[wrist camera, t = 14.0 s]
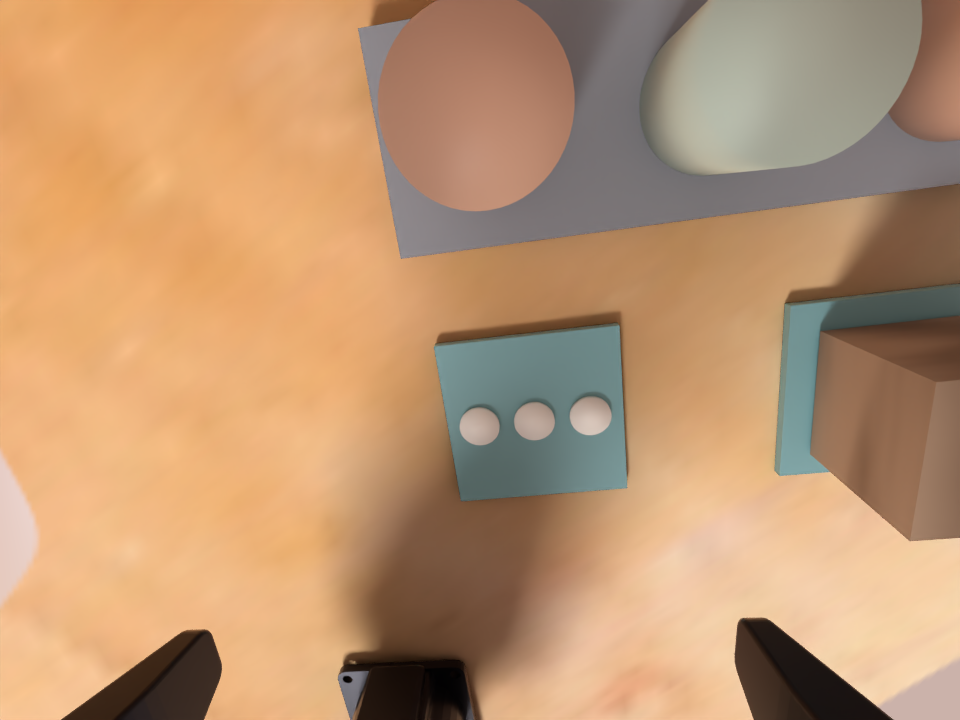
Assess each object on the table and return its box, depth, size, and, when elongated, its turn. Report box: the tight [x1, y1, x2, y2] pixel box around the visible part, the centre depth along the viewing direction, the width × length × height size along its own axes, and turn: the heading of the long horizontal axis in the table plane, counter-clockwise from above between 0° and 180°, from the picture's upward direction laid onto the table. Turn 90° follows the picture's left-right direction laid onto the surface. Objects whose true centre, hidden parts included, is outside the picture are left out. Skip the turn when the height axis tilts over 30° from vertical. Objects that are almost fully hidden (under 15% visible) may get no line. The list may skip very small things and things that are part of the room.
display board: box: [358, 0, 960, 259], centre depth 13 cm, size 7×21×6 cm, turn 98°
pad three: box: [434, 323, 627, 501], centre depth 19 cm, size 7×7×1 cm
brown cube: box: [810, 316, 960, 541], centre depth 15 cm, size 5×5×5 cm
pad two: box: [775, 284, 960, 476], centre depth 18 cm, size 7×7×1 cm
